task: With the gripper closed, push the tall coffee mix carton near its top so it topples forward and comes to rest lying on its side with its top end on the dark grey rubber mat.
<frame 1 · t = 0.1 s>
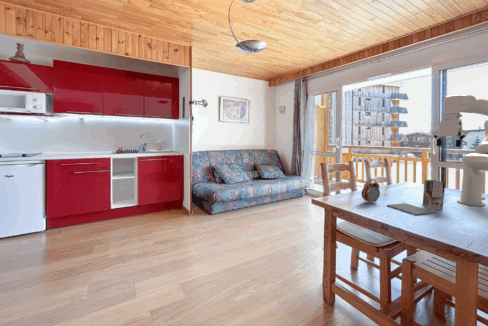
hand: (448, 146, 137), 36 cm above the table, tool pointing down, fingers open, 9 cm apart
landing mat: (410, 209, 135), on the table
coffee box: (432, 207, 139), on the table
alarm clock: (370, 202, 149), on the table
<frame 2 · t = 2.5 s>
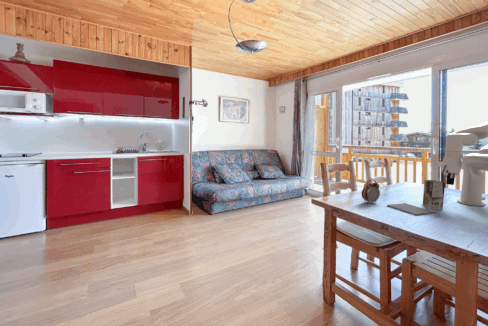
hand: (449, 184, 141), 13 cm above the table, tool pointing down, fingers closed
nothing on the table moved.
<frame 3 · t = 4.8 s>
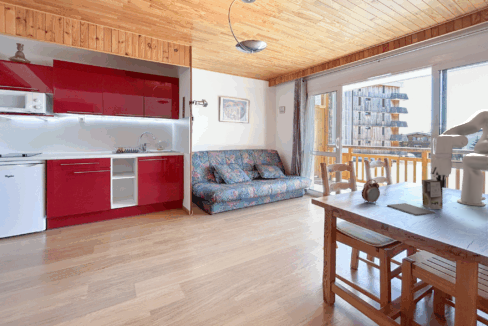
hand: (440, 186, 139), 12 cm above the table, tool pointing down, fingers closed
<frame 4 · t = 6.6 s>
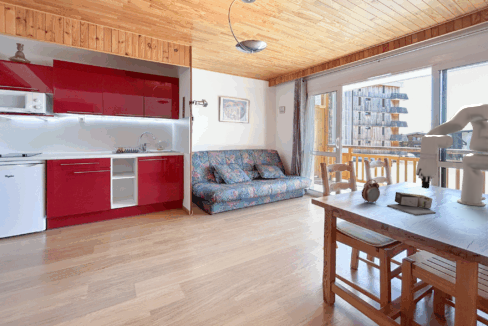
hand: (425, 187, 136), 12 cm above the table, tool pointing down, fingers closed
coffee box: (427, 201, 139), point 3 cm above the table, touching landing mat
everything else where it was.
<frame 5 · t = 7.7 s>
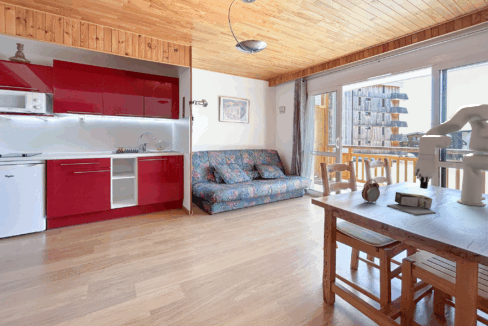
hand: (423, 188, 136), 12 cm above the table, tool pointing down, fingers closed
nothing on the table moved.
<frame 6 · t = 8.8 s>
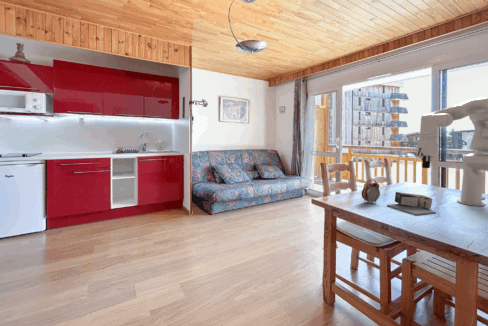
hand: (425, 167, 134), 24 cm above the table, tool pointing down, fingers closed
nothing on the table moved.
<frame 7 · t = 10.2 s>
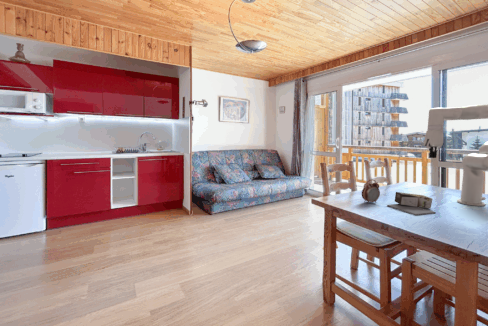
hand: (432, 157, 145), 29 cm above the table, tool pointing down, fingers closed
nothing on the table moved.
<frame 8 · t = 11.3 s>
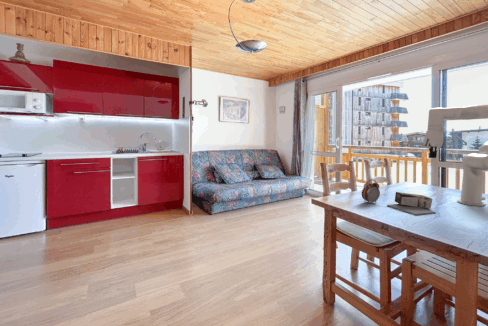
hand: (432, 157, 145), 29 cm above the table, tool pointing down, fingers closed
nothing on the table moved.
at the end: coffee box tilted 84°; coffee box touching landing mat, table; coffee box inside the target area (2.6 cm from its centre), point 3.2 cm above the table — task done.
